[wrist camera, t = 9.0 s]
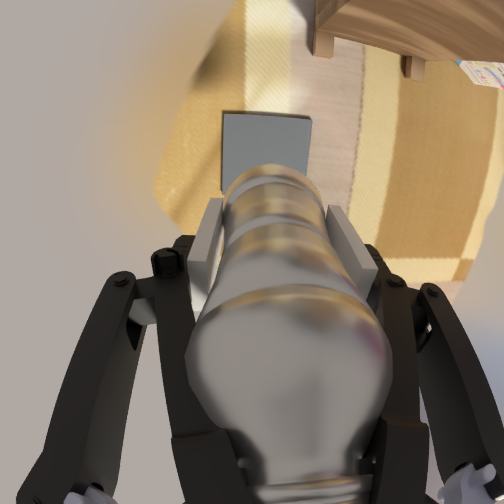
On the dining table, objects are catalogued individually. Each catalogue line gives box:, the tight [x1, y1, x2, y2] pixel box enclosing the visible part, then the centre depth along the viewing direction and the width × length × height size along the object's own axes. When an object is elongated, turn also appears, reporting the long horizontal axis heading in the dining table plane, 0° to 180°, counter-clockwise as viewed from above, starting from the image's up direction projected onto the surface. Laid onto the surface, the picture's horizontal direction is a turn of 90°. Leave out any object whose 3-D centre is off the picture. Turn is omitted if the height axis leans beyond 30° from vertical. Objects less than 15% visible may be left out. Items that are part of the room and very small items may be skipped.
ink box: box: [455, 61, 504, 89], centre depth 15 cm, size 9×8×13 cm
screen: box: [313, 0, 504, 82], centre depth 13 cm, size 8×14×22 cm, turn 87°
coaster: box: [222, 114, 312, 195], centre depth 31 cm, size 10×10×1 cm
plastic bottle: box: [184, 163, 393, 504], centre depth 12 cm, size 6×7×20 cm
